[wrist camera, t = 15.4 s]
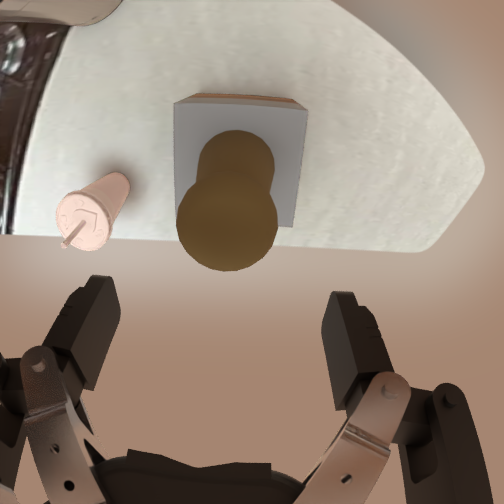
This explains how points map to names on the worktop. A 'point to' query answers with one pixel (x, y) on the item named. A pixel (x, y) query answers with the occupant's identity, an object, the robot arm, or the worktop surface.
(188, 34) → the worktop surface
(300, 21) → the worktop surface
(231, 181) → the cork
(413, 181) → the worktop surface
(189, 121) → the slate top block
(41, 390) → the robot arm
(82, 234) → the smoothie
